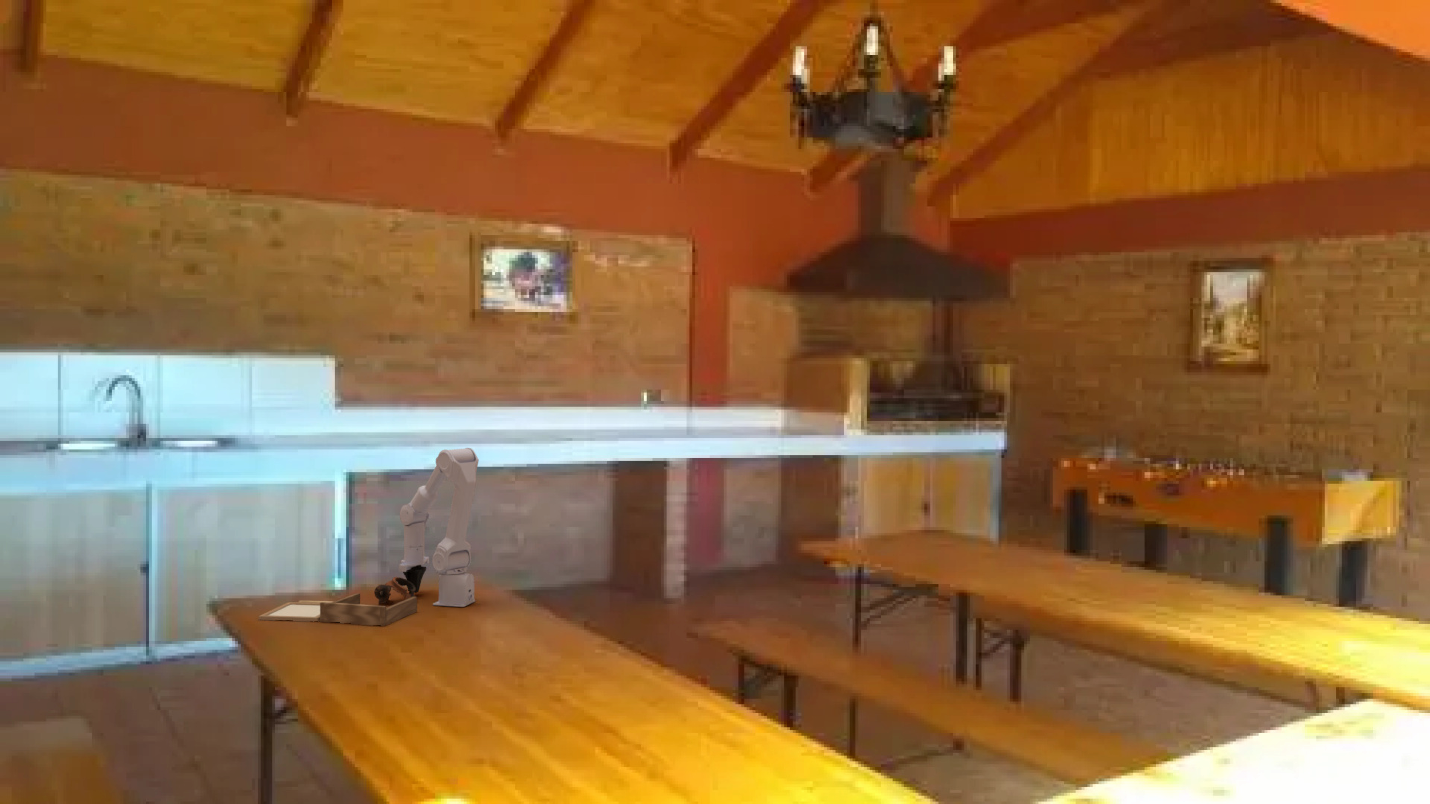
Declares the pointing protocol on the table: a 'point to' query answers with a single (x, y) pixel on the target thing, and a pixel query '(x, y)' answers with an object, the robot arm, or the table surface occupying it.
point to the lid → (295, 611)
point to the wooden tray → (365, 611)
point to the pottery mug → (396, 586)
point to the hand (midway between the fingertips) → (414, 592)
